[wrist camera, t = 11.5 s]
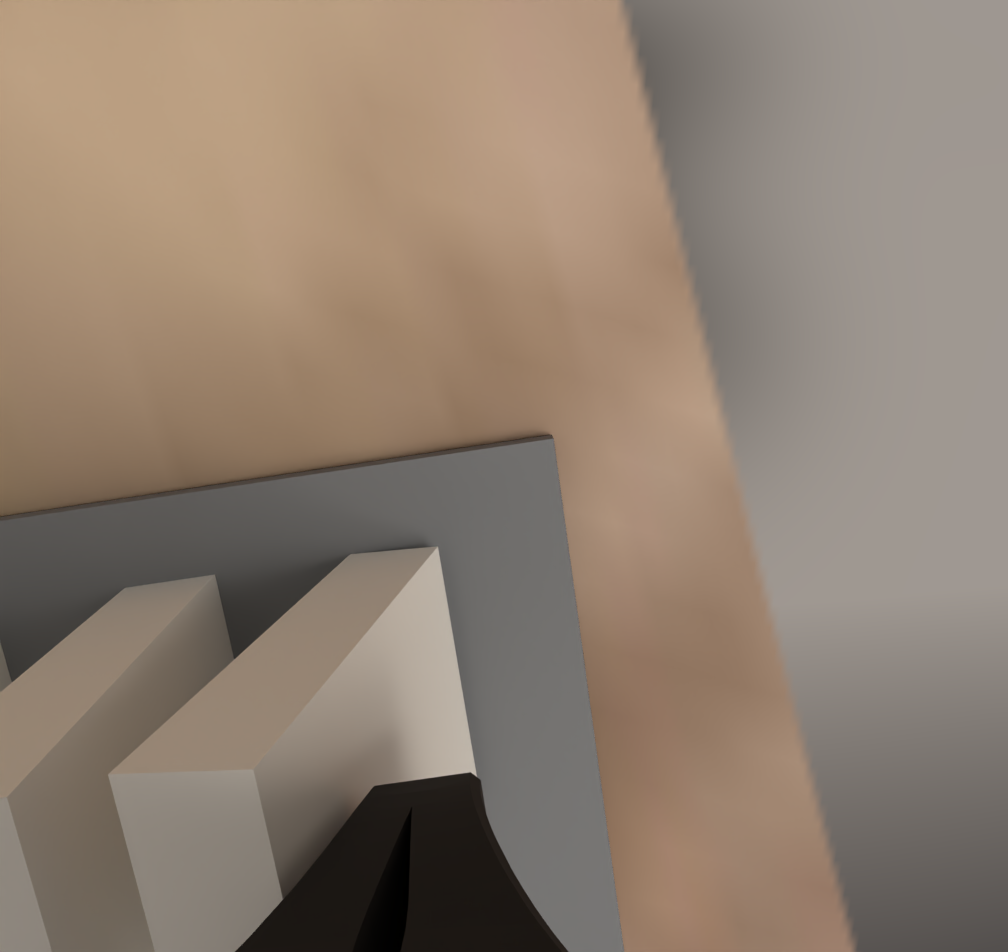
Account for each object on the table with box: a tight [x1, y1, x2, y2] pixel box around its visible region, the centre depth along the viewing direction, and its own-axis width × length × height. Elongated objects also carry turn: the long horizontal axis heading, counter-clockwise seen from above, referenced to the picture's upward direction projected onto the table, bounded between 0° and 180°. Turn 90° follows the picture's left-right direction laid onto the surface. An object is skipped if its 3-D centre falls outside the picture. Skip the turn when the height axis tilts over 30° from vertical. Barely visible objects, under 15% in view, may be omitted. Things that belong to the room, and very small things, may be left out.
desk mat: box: [0, 435, 624, 952], centre depth 17 cm, size 22×15×1 cm
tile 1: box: [108, 546, 477, 952], centre depth 13 cm, size 2×5×7 cm, turn 8°
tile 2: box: [0, 575, 234, 952], centre depth 13 cm, size 2×5×7 cm, turn 9°
